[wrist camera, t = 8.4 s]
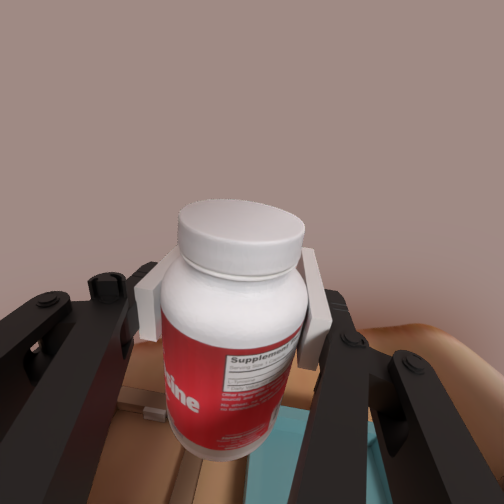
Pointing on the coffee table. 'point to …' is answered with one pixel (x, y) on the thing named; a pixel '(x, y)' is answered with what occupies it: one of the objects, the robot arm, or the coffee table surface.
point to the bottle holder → (156, 410)
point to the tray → (286, 456)
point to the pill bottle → (230, 324)
